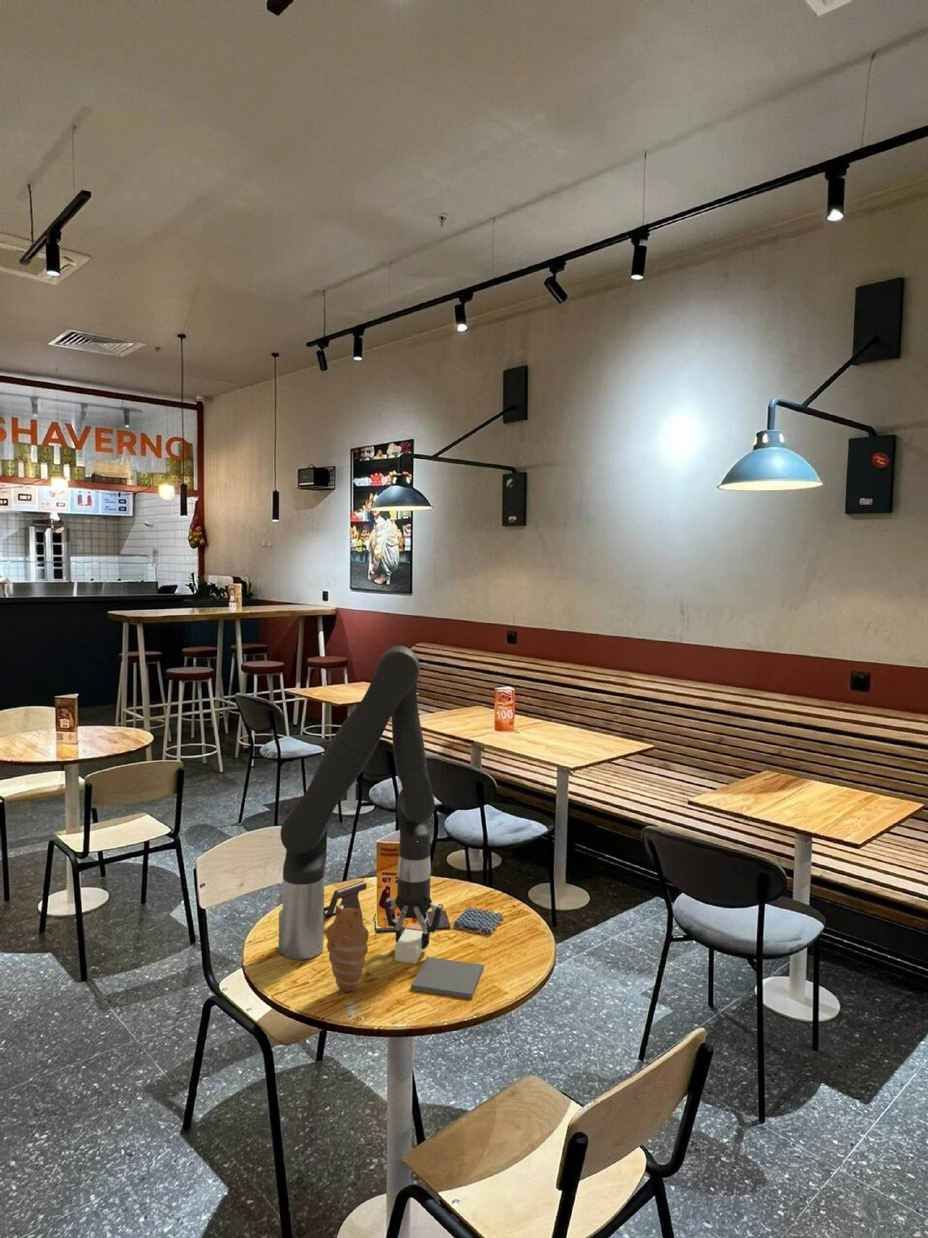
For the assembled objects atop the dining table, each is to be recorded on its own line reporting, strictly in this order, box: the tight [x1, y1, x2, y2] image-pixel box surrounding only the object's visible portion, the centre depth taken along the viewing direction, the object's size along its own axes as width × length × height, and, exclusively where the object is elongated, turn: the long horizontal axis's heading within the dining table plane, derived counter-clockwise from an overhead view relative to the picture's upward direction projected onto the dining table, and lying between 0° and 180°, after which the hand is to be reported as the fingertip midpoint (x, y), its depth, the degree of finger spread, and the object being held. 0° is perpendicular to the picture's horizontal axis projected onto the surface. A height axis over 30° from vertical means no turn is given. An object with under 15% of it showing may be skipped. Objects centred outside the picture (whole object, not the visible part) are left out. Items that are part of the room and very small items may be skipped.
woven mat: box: [452, 906, 505, 937], centre depth 190 cm, size 10×11×2 cm
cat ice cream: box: [325, 905, 370, 993], centre depth 158 cm, size 9×8×18 cm
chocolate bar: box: [374, 910, 451, 934], centre depth 190 cm, size 9×1×18 cm
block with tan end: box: [394, 923, 425, 964], centre depth 176 cm, size 11×5×4 cm, turn 168°
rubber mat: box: [410, 956, 485, 999], centre depth 164 cm, size 13×12×1 cm
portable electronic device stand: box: [324, 880, 368, 918], centre depth 193 cm, size 9×8×8 cm
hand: (412, 945), depth 176 cm, fingers closed on block with tan end, 5 cm apart
